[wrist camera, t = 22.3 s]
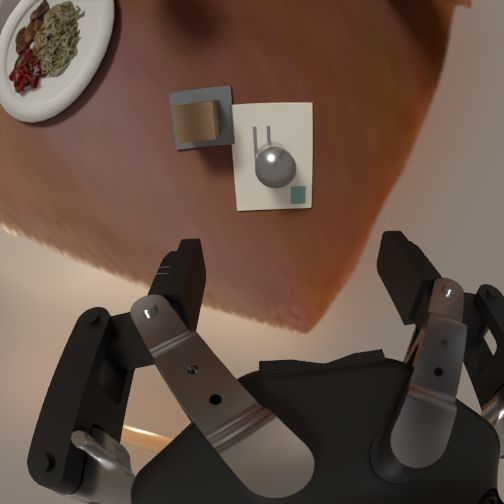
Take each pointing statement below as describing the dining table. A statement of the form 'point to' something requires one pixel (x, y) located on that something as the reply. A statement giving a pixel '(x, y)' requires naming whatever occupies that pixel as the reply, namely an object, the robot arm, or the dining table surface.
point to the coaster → (224, 107)
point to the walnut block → (197, 121)
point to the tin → (274, 165)
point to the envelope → (272, 130)
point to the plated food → (51, 54)
